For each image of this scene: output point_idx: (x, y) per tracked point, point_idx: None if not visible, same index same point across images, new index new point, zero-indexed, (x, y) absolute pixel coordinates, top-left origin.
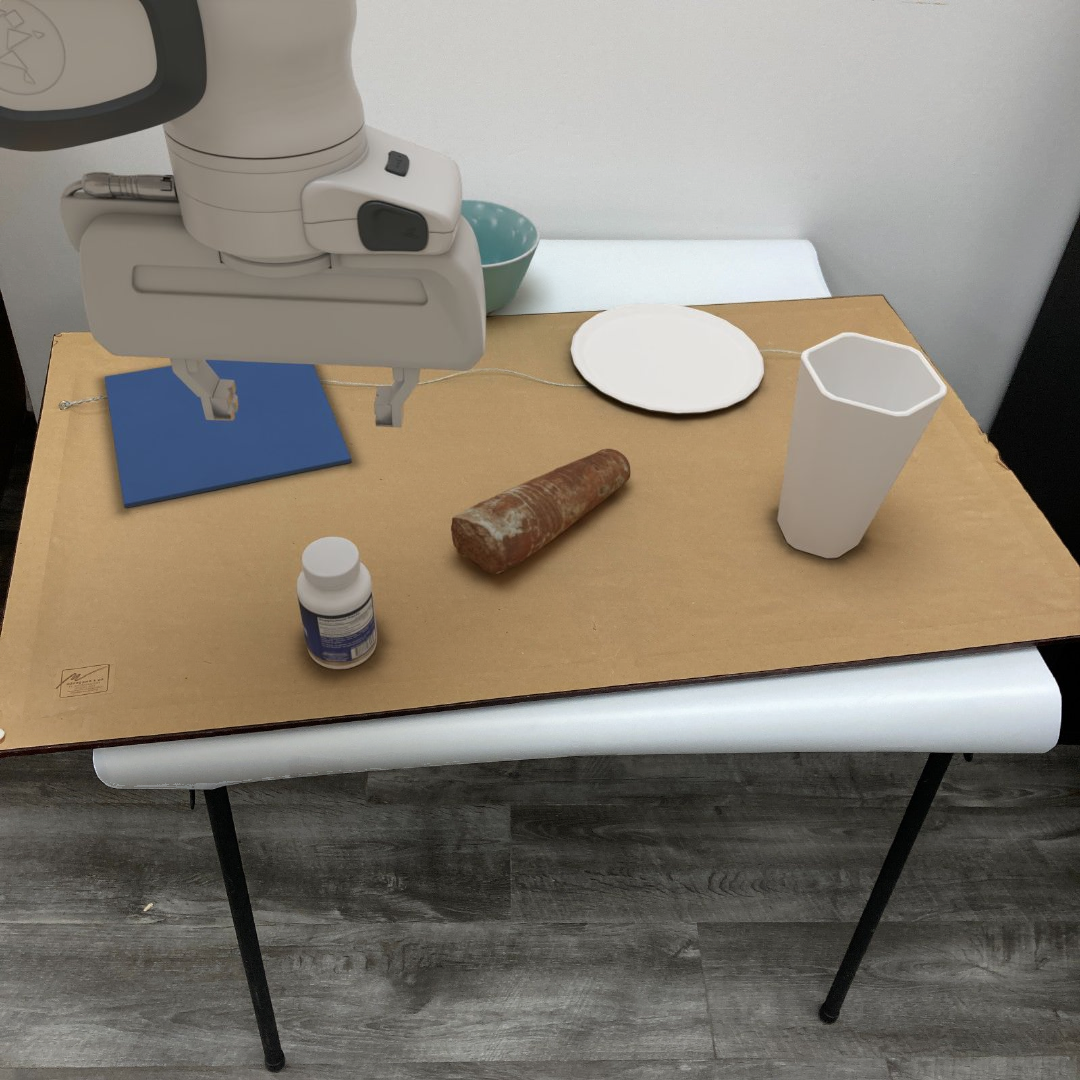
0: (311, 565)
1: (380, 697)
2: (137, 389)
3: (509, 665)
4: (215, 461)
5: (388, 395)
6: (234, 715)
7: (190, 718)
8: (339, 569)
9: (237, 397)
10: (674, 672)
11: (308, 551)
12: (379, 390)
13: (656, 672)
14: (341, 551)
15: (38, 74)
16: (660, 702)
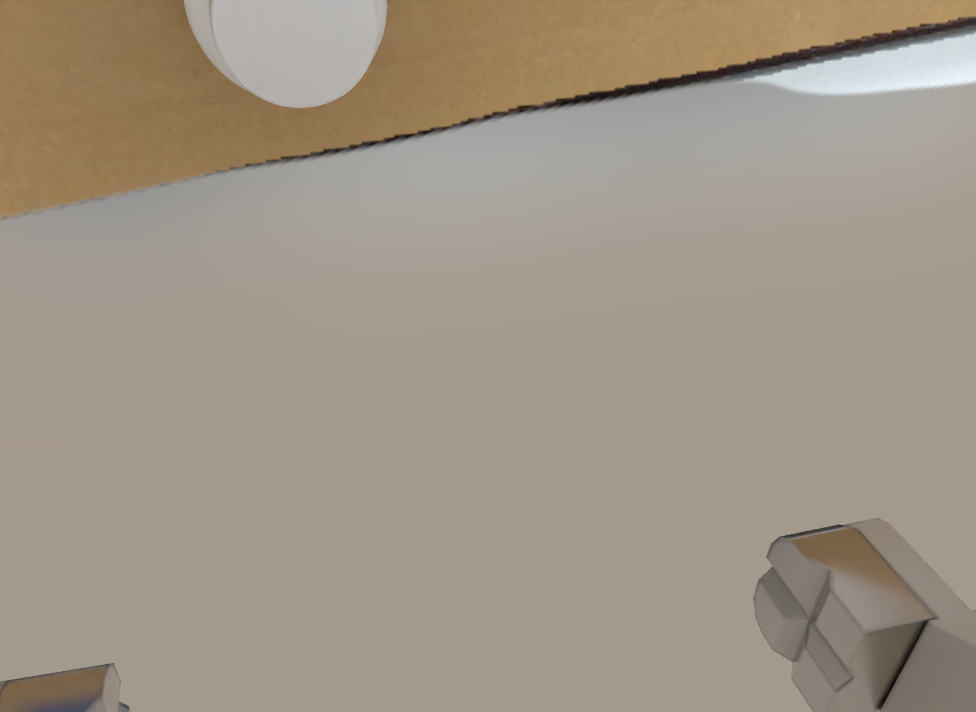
0: (252, 71)
1: (379, 102)
2: None
3: (621, 8)
4: None
5: (892, 668)
6: (98, 165)
7: (8, 179)
8: (334, 80)
9: (101, 689)
10: (895, 12)
11: (226, 10)
12: (864, 653)
13: (867, 14)
14: (326, 8)
15: None
16: (848, 82)
